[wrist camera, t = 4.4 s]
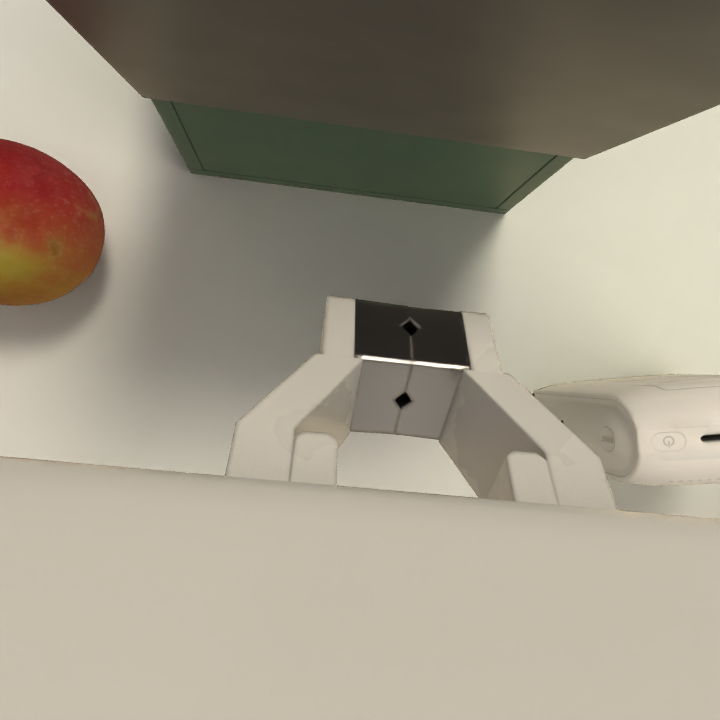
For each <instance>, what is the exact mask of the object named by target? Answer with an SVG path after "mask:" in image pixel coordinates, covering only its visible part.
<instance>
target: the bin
mask: <svg viewBox="0 0 720 720" xmlns="http://www.w3.org/2000/svg"><path fill="white" fill-rule="evenodd" d="M151 100H152V101H153V103H154V105H155V107H156V109H157V111H158V112H159V114H160V116H161V118H162V120H163V122H164V124H165V125H166V127H167V129H168V131H169V133H170V135H171V137H172V138H173V140H174V142H175V144H176V146H177V148H178V149H179V151H180V153H181V155H182V157H183V159H184V161H185V162H186V164H187V166H188V168H189V170H190V172H191V173H195V174H202V175H210V176H218V177H225V178H233V179H241V180H248V181H256V182H264V183H271V184H279V185H287V186H294V187H302V188H310V189H317V190H325V191H333V192H340V193H348V194H356V195H364V196H371V197H379V198H387V199H394V200H402V201H410V202H417V203H425V204H433V205H440V206H448V207H456V208H463V209H471V210H479V211H486V212H494V213H502V214H506V213H507V212H508V211H509V210H510V209H511V208H512V207H514V206H515V205H516V204H517V203H519V202H520V201H521V200H522V199H524V198H525V197H526V196H527V195H528V194H530V193H531V192H532V191H533V190H535V189H536V188H537V187H538V186H540V185H541V184H542V183H543V182H544V181H546V180H547V179H548V178H549V177H551V176H552V175H553V174H554V173H556V172H557V171H558V170H559V169H561V168H562V167H563V166H564V165H565V164H567V163H568V162H569V161H570V160H572V159H573V157H566V156H559V155H551V154H544V153H537V152H530V151H523V150H516V149H509V148H501V147H494V146H487V145H480V144H473V143H466V142H458V141H451V140H444V139H437V138H430V137H423V136H415V135H408V134H401V133H394V132H387V131H380V130H372V129H365V128H358V127H351V126H344V125H337V124H329V123H322V122H315V121H308V120H301V119H294V118H286V117H279V116H272V115H265V114H258V113H251V112H244V111H236V110H229V109H222V108H215V107H208V106H201V105H193V104H186V103H179V102H172V101H165V100H158V99H151Z"/></svg>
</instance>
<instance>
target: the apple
mask: <svg viewBox="0 0 720 720" xmlns="http://www.w3.org/2000/svg"><path fill="white" fill-rule="evenodd" d="M104 235H105V229H104V220H103V214H102V211H101V208H100V206H99V204H98V202H97V200H96V198H95V196H94V195H93V193H92V192H91V191H90V189H89V188H88V187H87V186H86V184H85V183H84V182H83V181H82V180H81V179H80V178H79V177H78V176H77V175H76V174H75V173H73V172H72V171H71V170H70V169H68V168H67V167H66V166H64V165H63V164H62V163H60V162H59V161H57V160H56V159H54V158H52V157H50V156H49V155H47V154H45V153H43V152H41V151H39V150H37V149H35V148H32V147H29V146H26V145H23V144H21V143H17V142H13V141H9V140H4V139H0V304H2V305H18V306H20V305H33V304H39V303H43V302H47V301H50V300H53V299H56V298H58V297H61V296H63V295H65V294H67V293H69V292H70V291H72V290H73V289H74V288H76V287H77V286H78V285H80V284H81V283H82V282H83V281H84V280H86V279H87V278H88V277H89V276H90V274H91V273H92V272H93V270H94V269H95V267H96V265H97V263H98V260H99V258H100V255H101V252H102V248H103V244H104Z"/></svg>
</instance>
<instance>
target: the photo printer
mask: <svg viewBox="0 0 720 720" xmlns="http://www.w3.org/2000/svg"><path fill="white" fill-rule="evenodd" d="M535 398H536V399H537V400H538V401H539V402H540V403H541V404H542V405H544V406H545V407H546V408H547V409H548V410H549V411H550V412H551V413H552V414H553V415H554V416H555V417H556V418H558V419H559V420H560V421H561V422H562V423H563V424H564V425H565V426H566V427H567V428H568V429H569V430H570V431H572V432H573V433H574V434H575V435H576V436H577V437H578V438H579V439H580V440H581V441H582V442H583V443H584V444H586V445H587V446H588V447H589V448H590V449H591V450H592V451H593V452H594V453H595V454H596V455H597V456H599V457H600V460H601V463H602V465H603V468H604V471H605V474H606V477H609V478H612V479H615V480H618V481H621V482H627V483H633V484H641V485H659V486H663V485H694V484H711V483H720V375H682V374H677V375H675V374H668V375H651V376H635V377H622V378H610V379H599V380H590V381H580V382H572V383H563V384H558V385H553V386H548V387H545V388H542V389H539V390H536V391H535Z"/></svg>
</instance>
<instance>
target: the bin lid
mask: <svg viewBox="0 0 720 720" xmlns="http://www.w3.org/2000/svg"><path fill="white" fill-rule="evenodd" d="M46 1H47V2H48V3H49V4H50V5H51V6H52V7H53V8H54V9H55V10H56V11H57V12H58V13H59V14H60V15H61V16H62V17H63V18H64V19H65V20H66V21H67V22H68V23H69V24H70V25H71V26H72V27H73V28H74V29H75V30H76V31H77V32H78V33H79V34H80V35H81V36H82V37H83V38H84V39H85V40H86V41H87V42H88V43H89V44H90V45H91V46H92V47H93V48H94V49H95V50H96V51H97V52H98V53H99V54H100V55H101V56H102V57H103V58H104V59H105V60H106V61H107V62H108V63H109V64H110V65H111V66H112V67H113V68H114V69H115V70H116V71H117V72H118V73H119V74H120V75H121V76H122V77H123V78H124V79H125V80H126V81H127V82H128V83H129V84H130V85H131V86H132V87H133V88H134V89H135V90H136V91H137V92H138V93H139V94H140V95H141V96H142V97H144V98H150V99H158V100H165V101H172V102H179V103H186V104H193V105H201V106H208V107H215V108H222V109H229V110H236V111H244V112H251V113H258V114H265V115H272V116H279V117H286V118H294V119H301V120H308V121H315V122H322V123H329V124H337V125H344V126H351V127H358V128H365V129H372V130H380V131H387V132H394V133H401V134H408V135H415V136H423V137H430V138H437V139H444V140H451V141H458V142H466V143H473V144H480V145H487V146H494V147H501V148H509V149H516V150H523V151H530V152H537V153H544V154H551V155H559V156H566V157H573V158H580V159H586V158H588V157H591V156H593V155H596V154H598V153H601V152H603V151H606V150H608V149H611V148H613V147H616V146H618V145H621V144H623V143H626V142H628V141H630V140H633V139H635V138H638V137H640V136H643V135H645V134H648V133H650V132H653V131H655V130H658V129H660V128H663V127H665V126H668V125H670V124H673V123H675V122H678V121H680V120H683V119H685V118H688V117H690V116H693V115H695V114H698V113H700V112H702V111H705V110H707V109H710V108H712V107H715V106H717V105H720V0H46Z"/></svg>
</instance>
